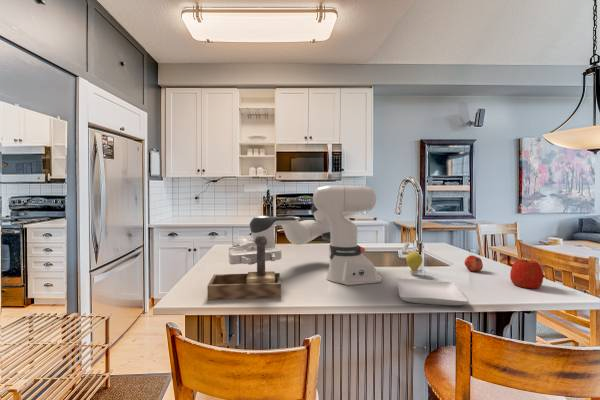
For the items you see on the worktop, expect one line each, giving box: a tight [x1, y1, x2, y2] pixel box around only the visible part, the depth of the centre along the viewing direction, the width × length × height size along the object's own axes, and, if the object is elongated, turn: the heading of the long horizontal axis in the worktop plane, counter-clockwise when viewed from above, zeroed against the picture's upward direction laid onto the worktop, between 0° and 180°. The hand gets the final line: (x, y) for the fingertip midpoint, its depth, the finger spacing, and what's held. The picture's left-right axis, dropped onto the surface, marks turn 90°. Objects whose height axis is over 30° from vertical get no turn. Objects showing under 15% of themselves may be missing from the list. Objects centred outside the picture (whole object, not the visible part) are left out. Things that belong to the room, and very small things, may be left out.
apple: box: [509, 258, 544, 290], centre depth 130 cm, size 11×11×11 cm
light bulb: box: [405, 251, 423, 276], centre depth 145 cm, size 7×7×10 cm
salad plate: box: [395, 277, 469, 307], centre depth 118 cm, size 21×21×3 cm
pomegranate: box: [463, 254, 484, 272], centre depth 152 cm, size 7×7×10 cm
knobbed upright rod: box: [247, 235, 276, 284], centre depth 122 cm, size 10×9×20 cm
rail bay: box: [206, 272, 282, 301], centre depth 122 cm, size 25×14×5 cm, turn 96°
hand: (261, 260), depth 121 cm, fingers open, 8 cm apart
